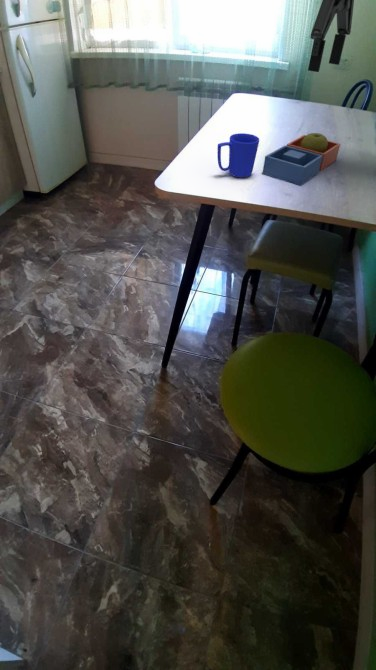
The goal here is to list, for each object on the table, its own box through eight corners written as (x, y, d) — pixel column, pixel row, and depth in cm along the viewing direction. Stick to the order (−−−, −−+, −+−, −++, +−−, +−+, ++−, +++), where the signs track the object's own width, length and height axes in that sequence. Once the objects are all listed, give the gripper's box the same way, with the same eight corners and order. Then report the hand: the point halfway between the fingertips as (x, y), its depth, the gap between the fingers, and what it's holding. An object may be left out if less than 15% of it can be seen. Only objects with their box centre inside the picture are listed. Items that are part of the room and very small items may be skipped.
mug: (209, 171, 120) (212, 135, 114) (245, 167, 124) (250, 132, 117) (221, 183, 115) (225, 145, 108) (259, 177, 119) (265, 141, 112)
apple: (326, 163, 127) (333, 139, 122) (301, 163, 127) (306, 138, 122) (319, 154, 133) (325, 131, 128) (295, 154, 132) (300, 130, 127)
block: (302, 171, 122) (306, 153, 119) (294, 176, 119) (298, 158, 116) (287, 166, 124) (290, 149, 121) (279, 171, 121) (282, 154, 118)
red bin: (335, 160, 131) (340, 143, 128) (320, 171, 124) (324, 154, 120) (300, 151, 136) (304, 134, 133) (283, 161, 129) (286, 144, 125)
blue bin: (318, 172, 123) (323, 155, 120) (300, 185, 116) (304, 167, 112) (281, 162, 128) (285, 145, 125) (262, 173, 121) (265, 156, 117)
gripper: (351, -42, 103) (329, 59, 117) (310, -44, 88) (290, 71, 102) (381, -40, 100) (354, 63, 114) (343, -43, 85) (318, 76, 99)
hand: (323, 67), depth 108 cm, fingers open, 13 cm apart
